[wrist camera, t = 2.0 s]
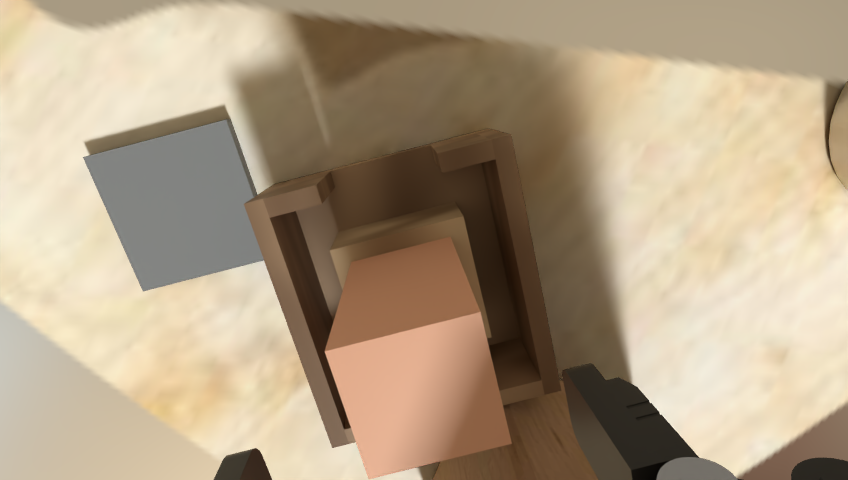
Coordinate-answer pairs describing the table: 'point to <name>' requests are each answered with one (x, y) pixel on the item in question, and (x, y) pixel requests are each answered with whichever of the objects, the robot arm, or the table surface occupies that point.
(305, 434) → the table surface
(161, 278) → the pad
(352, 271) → the block
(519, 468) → the wooden block
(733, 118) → the table surface
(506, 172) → the crate
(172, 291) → the table surface
